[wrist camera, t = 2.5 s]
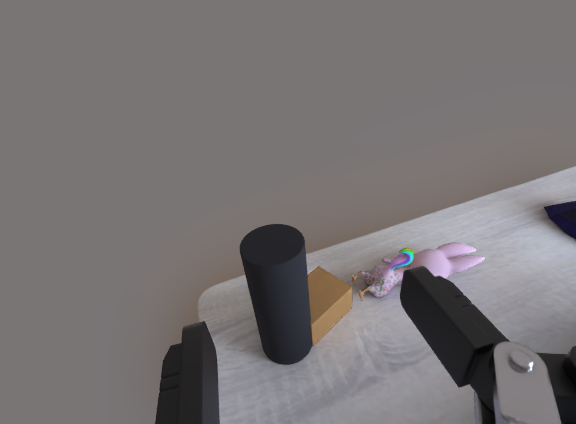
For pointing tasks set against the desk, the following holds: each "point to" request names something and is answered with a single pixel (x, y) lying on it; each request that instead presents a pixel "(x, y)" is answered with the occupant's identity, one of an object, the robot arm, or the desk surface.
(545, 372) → the robot arm
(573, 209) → the computer mouse
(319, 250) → the desk surface
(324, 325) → the cylinder with tan block
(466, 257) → the rabbit figure
